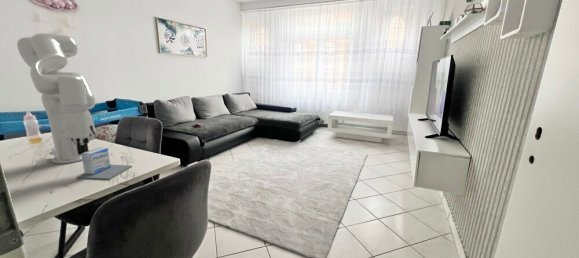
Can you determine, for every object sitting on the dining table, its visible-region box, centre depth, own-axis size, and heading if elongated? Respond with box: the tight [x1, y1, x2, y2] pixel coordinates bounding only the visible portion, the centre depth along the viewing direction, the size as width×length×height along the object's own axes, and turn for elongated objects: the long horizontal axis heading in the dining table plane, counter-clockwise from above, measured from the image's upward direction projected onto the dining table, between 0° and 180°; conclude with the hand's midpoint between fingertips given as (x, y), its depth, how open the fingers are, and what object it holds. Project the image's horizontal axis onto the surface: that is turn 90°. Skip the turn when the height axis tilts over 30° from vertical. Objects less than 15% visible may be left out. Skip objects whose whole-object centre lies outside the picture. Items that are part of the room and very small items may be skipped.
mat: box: [76, 164, 133, 181], centre depth 100 cm, size 13×13×1 cm
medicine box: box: [81, 147, 112, 174], centre depth 99 cm, size 8×4×9 cm, turn 171°
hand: (83, 153), depth 99 cm, fingers closed
